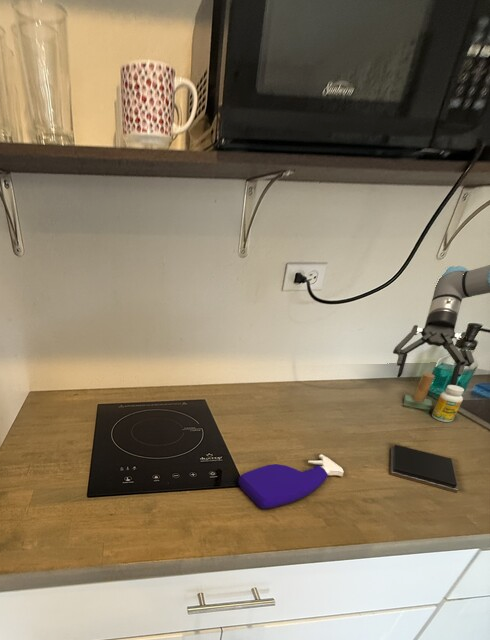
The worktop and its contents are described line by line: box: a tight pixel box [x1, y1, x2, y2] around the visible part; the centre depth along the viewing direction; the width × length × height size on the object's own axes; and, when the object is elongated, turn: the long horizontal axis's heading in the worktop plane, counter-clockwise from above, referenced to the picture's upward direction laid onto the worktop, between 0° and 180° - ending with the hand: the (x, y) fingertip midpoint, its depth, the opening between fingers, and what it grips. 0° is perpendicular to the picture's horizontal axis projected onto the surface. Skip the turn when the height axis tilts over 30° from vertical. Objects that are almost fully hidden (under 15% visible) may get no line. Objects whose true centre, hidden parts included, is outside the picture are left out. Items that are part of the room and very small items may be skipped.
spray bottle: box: [238, 453, 344, 510], centre depth 84 cm, size 3×11×24 cm
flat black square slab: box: [389, 444, 459, 494], centre depth 90 cm, size 13×12×2 cm
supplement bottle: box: [431, 384, 465, 423], centre depth 109 cm, size 5×5×10 cm
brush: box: [402, 372, 435, 414], centre depth 114 cm, size 7×4×10 cm, turn 63°
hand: (425, 380), depth 113 cm, fingers open, 13 cm apart
